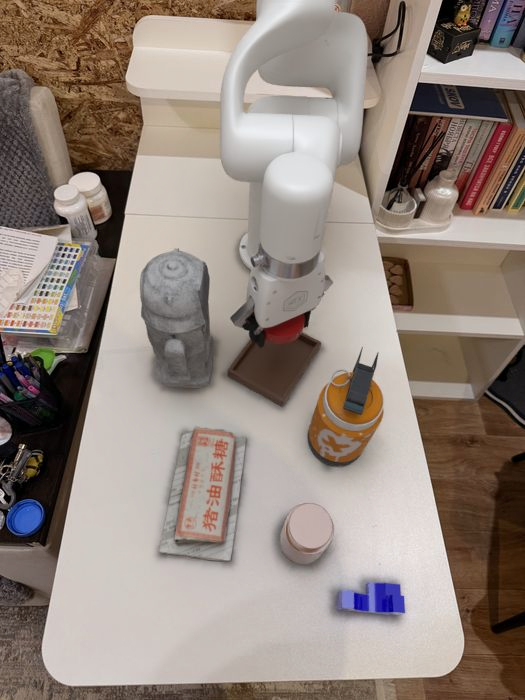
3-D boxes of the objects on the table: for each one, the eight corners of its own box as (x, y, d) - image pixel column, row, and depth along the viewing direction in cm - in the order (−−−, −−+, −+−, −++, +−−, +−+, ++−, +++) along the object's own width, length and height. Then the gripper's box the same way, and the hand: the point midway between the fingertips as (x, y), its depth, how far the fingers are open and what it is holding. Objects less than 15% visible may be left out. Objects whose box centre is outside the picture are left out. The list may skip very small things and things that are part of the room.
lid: (304, 345, 75) (305, 338, 74) (255, 343, 75) (256, 336, 73) (303, 305, 79) (304, 298, 77) (256, 304, 79) (257, 296, 77)
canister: (299, 455, 79) (317, 399, 62) (320, 395, 84) (341, 328, 67) (355, 475, 78) (389, 424, 60) (372, 413, 83) (408, 350, 66)
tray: (267, 321, 92) (268, 314, 90) (319, 348, 89) (321, 342, 87) (227, 376, 85) (227, 370, 84) (282, 407, 83) (283, 401, 81)
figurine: (216, 327, 90) (210, 225, 69) (210, 399, 83) (201, 311, 62) (161, 324, 90) (137, 221, 69) (150, 397, 83) (120, 307, 61)
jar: (293, 508, 75) (300, 490, 66) (332, 532, 73) (344, 516, 65) (271, 548, 72) (276, 534, 64) (311, 573, 70) (321, 562, 62)
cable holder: (395, 586, 70) (403, 583, 66) (396, 615, 68) (405, 613, 65) (337, 581, 70) (342, 577, 66) (336, 609, 68) (342, 607, 65)
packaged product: (180, 420, 76) (247, 428, 76) (183, 432, 80) (246, 440, 80) (155, 548, 66) (230, 557, 66) (159, 554, 71) (231, 562, 71)
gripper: (241, 297, 59) (240, 372, 74) (364, 247, 64) (339, 327, 79) (212, 254, 62) (217, 334, 77) (331, 209, 67) (314, 292, 82)
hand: (279, 330), depth 78 cm, fingers closed on lid, 7 cm apart
